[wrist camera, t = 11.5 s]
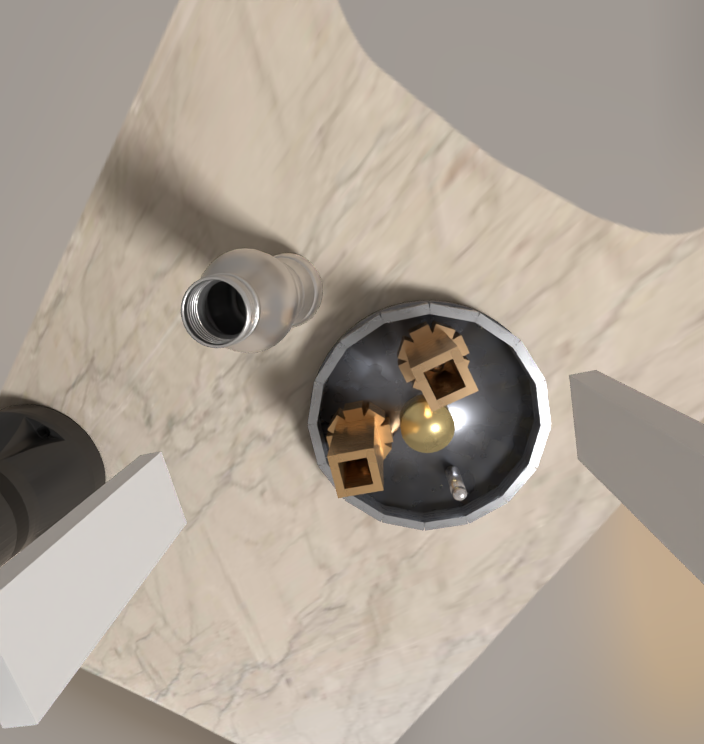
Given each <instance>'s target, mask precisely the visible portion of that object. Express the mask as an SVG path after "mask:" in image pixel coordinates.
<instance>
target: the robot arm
mask: <svg viewBox="0 0 704 744" xmlns="http://www.w3.org/2000/svg"><path fill="white" fill-rule="evenodd" d="M569 379H570V388H571V398H572V408H573V417H574V427H575V437H576V446H577V456H578V460H579V461H580V462H581V463H582V464H583V465H584V466H585V467H586V468H587V469H588V470H589V471H590V472H591V473H592V474H593V475H594V476H595V477H596V478H598V479H599V480H600V481H601V482H602V483H603V484H604V485H605V486H606V487H607V488H608V489H609V490H610V491H611V492H612V493H613V494H614V495H615V496H616V497H617V498H618V499H619V500H620V501H621V502H622V503H623V504H624V505H625V506H626V507H627V508H628V509H629V510H630V511H631V512H632V513H633V514H634V515H635V516H636V517H637V518H638V519H639V520H640V521H641V522H642V523H643V524H644V525H645V526H646V527H647V528H648V529H649V530H650V531H651V532H652V533H653V534H654V535H655V536H656V537H657V538H658V539H659V540H660V541H661V542H662V543H663V544H664V545H665V546H666V547H667V548H668V549H669V550H670V551H671V552H672V553H673V554H674V555H675V556H676V557H677V558H678V559H679V560H680V561H681V562H682V563H683V564H684V565H685V566H686V567H687V568H688V569H689V570H690V571H691V572H692V573H693V574H694V575H695V576H696V577H697V578H698V579H699V580H700V581H701V582H702V583H703V584H704V424H702V423H701V422H699V421H697V420H695V419H693V418H691V417H689V416H687V415H685V414H683V413H681V412H679V411H677V410H675V409H673V408H671V407H669V406H667V405H665V404H663V403H661V402H659V401H657V400H655V399H653V398H651V397H649V396H647V395H645V394H643V393H641V392H639V391H637V390H635V389H633V388H631V387H629V386H627V385H625V384H623V383H621V382H619V381H617V380H615V379H613V378H611V377H609V376H607V375H605V374H603V373H601V372H599V371H597V370H594V371H589V372H583V373H578V374H573V375H569ZM186 524H187V522H186V519H185V516H184V513H183V511H182V508H181V505H180V502H179V499H178V497H177V494H176V491H175V488H174V485H173V482H172V480H171V477H170V474H169V471H168V468H167V466H166V463H165V460H164V457H163V454H162V451H161V452H156V453H150V454H145V455H140V456H139V457H138V458H136V459H135V460H134V461H133V462H131V463H130V464H129V465H128V466H127V467H125V468H124V469H123V470H122V471H120V472H119V473H118V474H117V475H115V476H114V477H113V478H112V479H110V480H109V481H108V482H107V483H105V470H104V465H103V461H102V458H101V456H100V454H99V451H98V449H97V448H96V446H95V444H94V443H93V441H92V440H91V438H90V437H89V436H88V435H87V434H86V432H85V431H84V430H83V429H82V428H81V427H80V426H78V425H77V424H76V423H75V422H73V421H72V420H71V419H69V418H68V417H66V416H64V415H63V414H61V413H59V412H57V411H54V410H52V409H49V408H46V407H42V406H37V405H28V404H26V405H14V406H10V407H7V408H4V409H1V410H0V567H1V566H2V565H3V566H2V567H1V568H0V724H1V726H2V727H3V728H12V727H21V726H30V725H37V724H38V723H39V722H40V720H41V719H42V718H43V716H44V715H45V714H46V712H47V711H48V710H49V708H50V707H51V705H52V704H53V703H54V701H55V700H56V699H57V697H58V696H59V695H60V693H61V692H62V691H63V689H64V688H65V686H66V685H67V684H68V683H69V681H70V680H71V679H72V677H73V676H74V674H75V673H76V672H77V670H78V669H79V668H80V666H81V665H82V664H83V662H84V661H85V660H86V658H87V657H88V656H89V654H90V653H91V652H92V650H93V649H94V648H95V646H96V645H97V644H98V642H99V641H100V639H101V638H102V637H103V635H104V634H105V633H106V631H107V630H108V629H109V627H110V626H111V625H112V623H113V622H114V621H115V619H116V618H117V617H118V615H119V614H120V613H121V611H122V610H123V609H124V607H125V606H126V604H127V603H128V602H129V600H130V599H131V598H132V596H133V595H134V594H135V592H136V591H137V590H138V588H139V587H140V586H141V584H142V583H143V582H144V580H145V579H146V578H147V576H148V575H149V573H150V572H151V571H152V569H153V568H154V567H155V565H156V564H157V563H158V561H159V560H160V559H161V557H162V556H163V555H164V553H165V552H166V551H167V549H168V548H169V547H170V545H171V544H172V543H173V541H174V540H175V538H176V537H177V536H178V534H179V533H180V532H181V530H182V529H183V528H184V526H185V525H186ZM19 552H20V553H19ZM17 553H18V554H17ZM16 554H17V555H16ZM15 555H16V556H15ZM13 556H15V557H13ZM12 557H13V558H12ZM11 558H12V559H11ZM10 559H11V560H10ZM8 560H10V561H8ZM7 561H8V562H7ZM6 562H7V563H6ZM5 563H6V564H5ZM4 564H5V565H4Z"/></svg>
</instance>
